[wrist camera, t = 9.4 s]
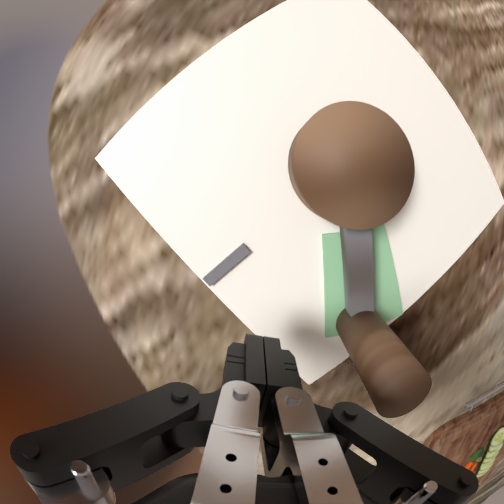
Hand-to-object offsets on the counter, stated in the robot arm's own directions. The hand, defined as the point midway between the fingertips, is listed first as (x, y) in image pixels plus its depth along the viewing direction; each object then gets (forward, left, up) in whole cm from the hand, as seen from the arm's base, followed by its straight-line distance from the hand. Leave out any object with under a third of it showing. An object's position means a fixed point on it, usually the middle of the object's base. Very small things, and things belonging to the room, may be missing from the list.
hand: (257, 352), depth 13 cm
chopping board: (-4, +52, -8) cm, 52 cm away
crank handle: (-7, 0, -4) cm, 8 cm away
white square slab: (-9, -3, -7) cm, 12 cm away
